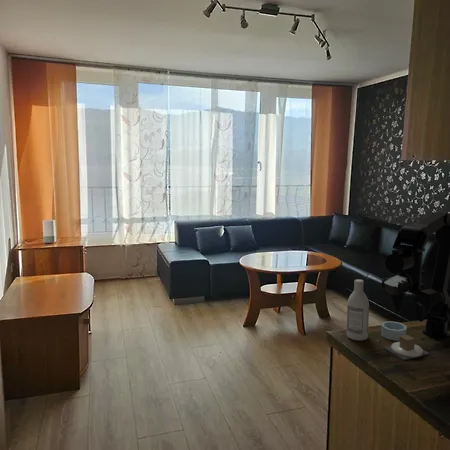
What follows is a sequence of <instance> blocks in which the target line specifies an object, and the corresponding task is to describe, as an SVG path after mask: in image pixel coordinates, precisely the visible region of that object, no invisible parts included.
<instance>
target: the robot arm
mask: <svg viewBox="0 0 450 450" xmlns="http://www.w3.org/2000/svg"><path fill="white" fill-rule="evenodd" d="M434 233H435V235H434V238H435V240H436V243H437V244H438V248H437V254H436V258H435V259H436V260H435V265H434V270H433V274H432V282H431V285H430V288H428V289H424V288H425V284H424V283H422V276H423V275H425V274H426V270H423V253H424V252H425V251H426V248H425V247H426V245H427V243H428V242H429V241H430V237H429V236H431V235H432V234H434ZM384 265H385V268H386V269H387V271H389V272H390V273H392V274H395V275H394V276H391V277H384V278H383V279H382V280H381V287H382V288H384V291H386V293H389V295H390V296H391V299H392V303H393V305H394V308H395V311H396V312H400V310H401V308H402V303H403V298H404V295H405V294H406V293H407V292H408V293H411V294H413V295H416V301H415V303H416V304H417V305H418V321H419V322H424V320H425V319H426V321H425V329H424V330H422V333H423V334H426V335H427V336H430V337H432V338H434V339H436V340H442V339H446V338H449V337H450V333H448V328H449V327H448V326H449V325H448V324H449V323H450V295H449V292H448V286H449V283H450V282H449V280H450V212H446V211H434V212H432V213H431V215H430V216H428V217H426V218H424V219H423V220H421V221H419V222H418V223H412V224H409V223H408V224H405V225H402V227H401V228H400V229H399V230H398V233H397V236H396V237H395V240H394V243H393V245H392V249H391V254H389V255H388V256H387V257H386V258H385V260H384Z"/></svg>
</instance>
